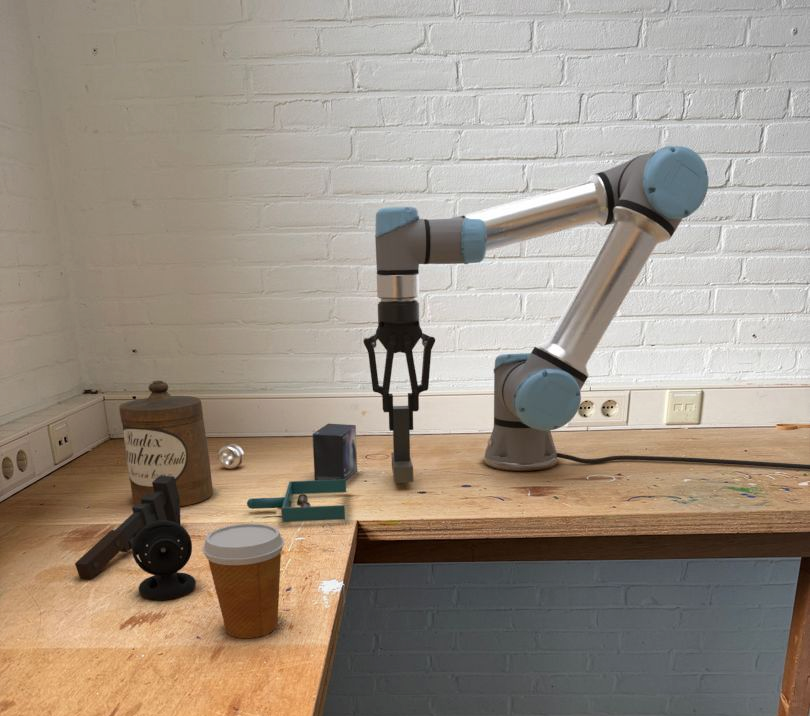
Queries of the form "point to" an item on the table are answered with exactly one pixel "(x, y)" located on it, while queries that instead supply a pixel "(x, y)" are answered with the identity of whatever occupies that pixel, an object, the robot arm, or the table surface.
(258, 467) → the table surface
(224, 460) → the grooved metal pulley
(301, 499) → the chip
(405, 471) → the gray l-shaped block
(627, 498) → the table surface
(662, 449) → the table surface
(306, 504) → the glossy brown capsule
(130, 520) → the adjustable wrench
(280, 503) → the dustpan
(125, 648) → the table surface
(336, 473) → the small box
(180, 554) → the webcam
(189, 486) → the wooden container
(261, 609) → the disposable coffee cup
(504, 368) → the robot arm
